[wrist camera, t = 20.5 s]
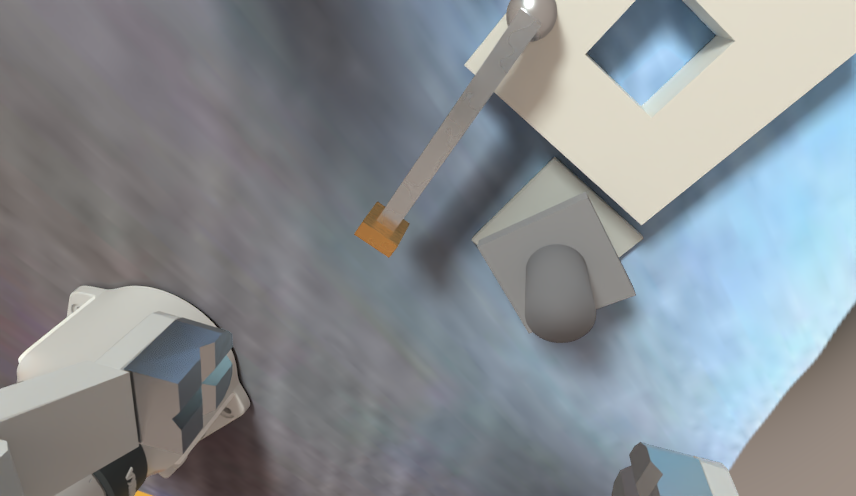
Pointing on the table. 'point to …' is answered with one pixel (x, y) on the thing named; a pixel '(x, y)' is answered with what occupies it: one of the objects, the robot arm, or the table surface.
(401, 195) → the ball-tipped lever rod
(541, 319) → the plug
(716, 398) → the table surface
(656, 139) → the socket
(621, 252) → the mat
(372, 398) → the table surface
